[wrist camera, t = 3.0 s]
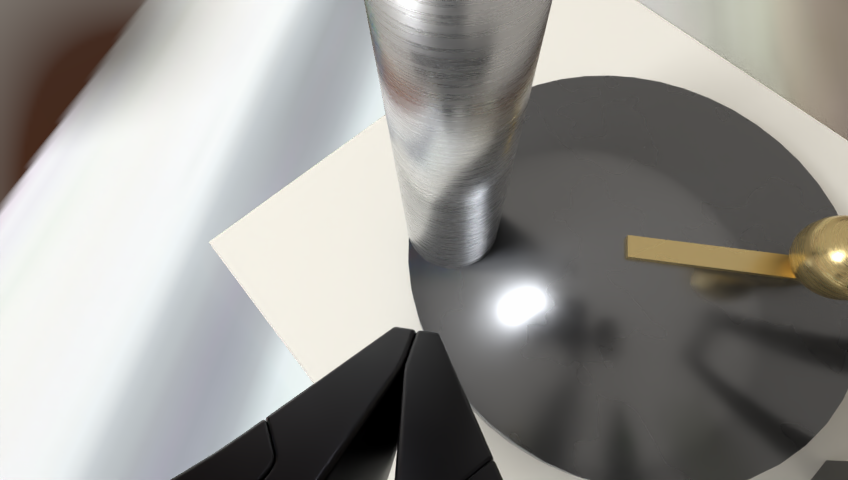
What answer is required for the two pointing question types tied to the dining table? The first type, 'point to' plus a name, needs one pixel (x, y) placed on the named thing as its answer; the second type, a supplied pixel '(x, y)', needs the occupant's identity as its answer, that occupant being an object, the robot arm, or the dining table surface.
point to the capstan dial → (609, 253)
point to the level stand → (388, 236)
